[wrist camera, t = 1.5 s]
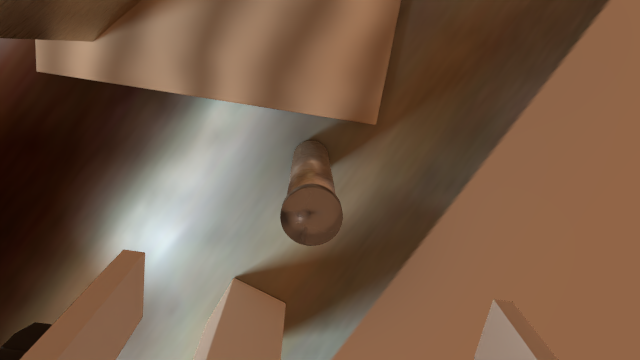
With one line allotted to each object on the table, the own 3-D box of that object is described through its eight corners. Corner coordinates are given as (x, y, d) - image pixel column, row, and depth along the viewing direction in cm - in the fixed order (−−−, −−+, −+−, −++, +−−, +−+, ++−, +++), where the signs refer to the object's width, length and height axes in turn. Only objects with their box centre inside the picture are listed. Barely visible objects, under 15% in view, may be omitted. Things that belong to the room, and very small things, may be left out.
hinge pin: (288, 173, 38) (276, 241, 24) (293, 134, 37) (285, 183, 23) (327, 179, 38) (336, 249, 25) (334, 141, 37) (347, 193, 23)
